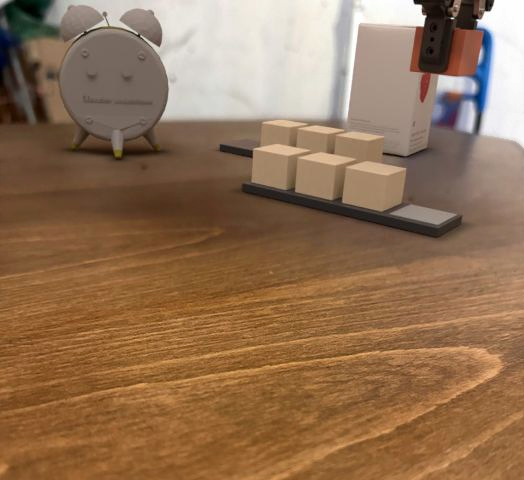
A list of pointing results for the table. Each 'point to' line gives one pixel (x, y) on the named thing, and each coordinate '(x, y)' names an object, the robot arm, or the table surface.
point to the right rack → (343, 188)
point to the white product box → (390, 89)
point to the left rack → (312, 141)
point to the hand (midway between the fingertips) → (443, 70)
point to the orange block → (454, 52)
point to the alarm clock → (113, 77)
